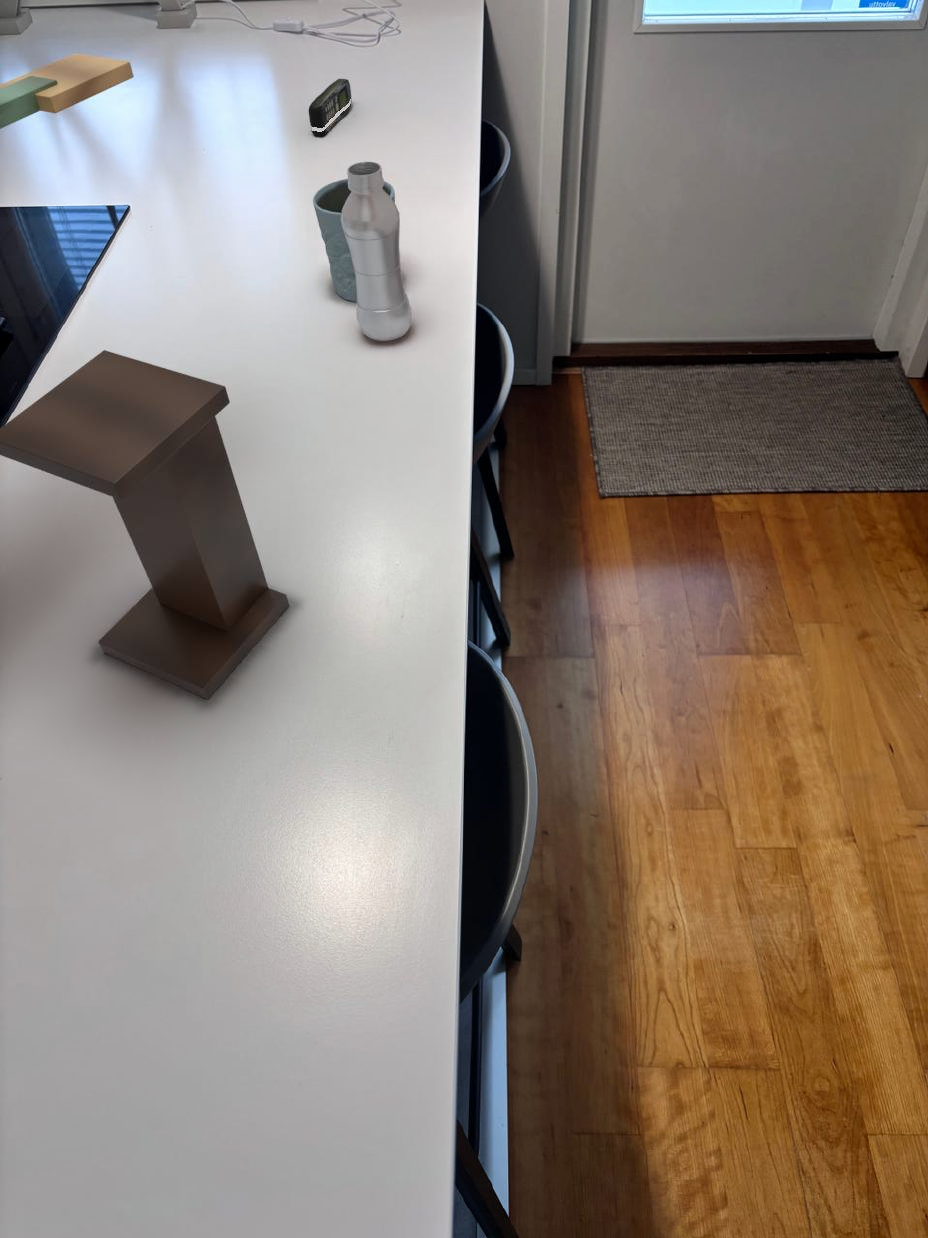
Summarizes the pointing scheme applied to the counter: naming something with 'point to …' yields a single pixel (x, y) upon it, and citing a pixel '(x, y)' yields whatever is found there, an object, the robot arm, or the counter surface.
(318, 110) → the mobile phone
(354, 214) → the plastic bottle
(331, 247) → the blue-grey embossed cup
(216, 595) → the brown pedestal stand
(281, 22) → the counter surface
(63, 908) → the counter surface
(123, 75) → the spatula
